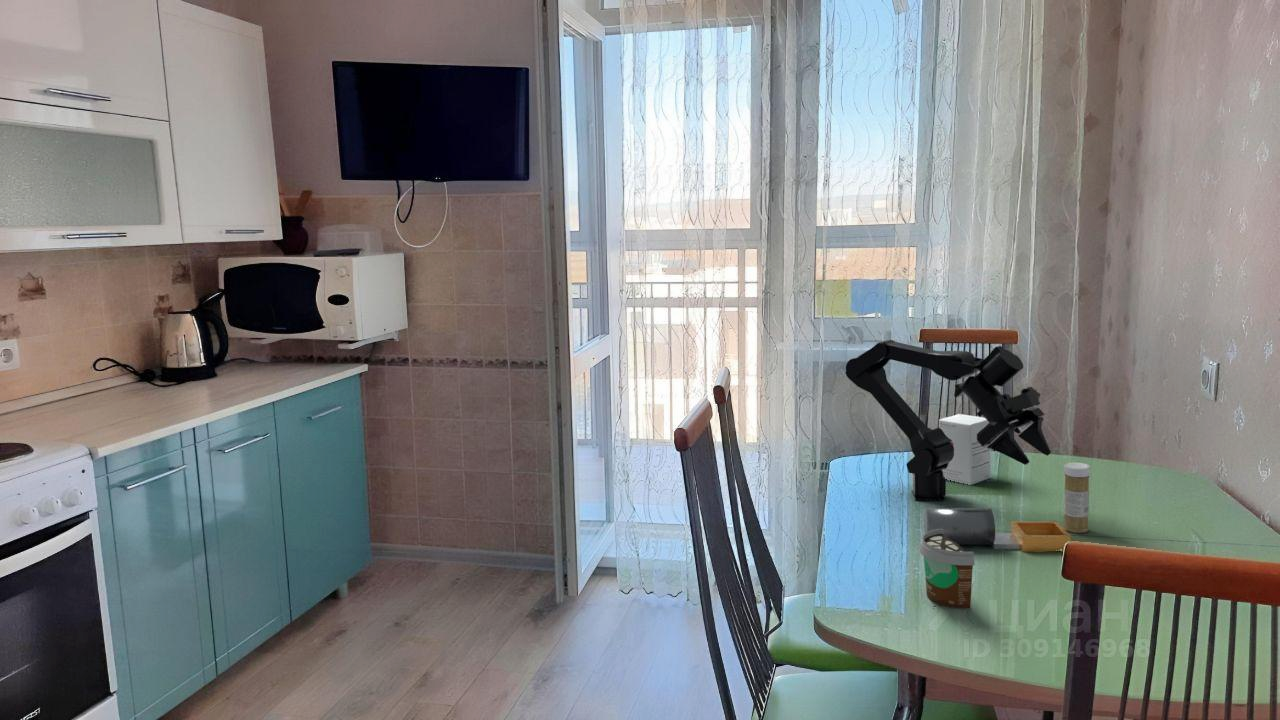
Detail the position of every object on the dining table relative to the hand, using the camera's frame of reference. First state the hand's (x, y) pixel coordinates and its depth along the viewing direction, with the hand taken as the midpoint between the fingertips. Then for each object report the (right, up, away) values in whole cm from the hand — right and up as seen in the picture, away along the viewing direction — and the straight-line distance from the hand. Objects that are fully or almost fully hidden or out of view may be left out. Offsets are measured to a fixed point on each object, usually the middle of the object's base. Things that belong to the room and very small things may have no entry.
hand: (1038, 458), depth 178 cm
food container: (-31, -20, -32) cm, 49 cm away
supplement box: (-2, -9, +34) cm, 36 cm away
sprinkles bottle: (+6, -14, -4) cm, 16 cm away
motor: (-12, -15, -9) cm, 22 cm away
